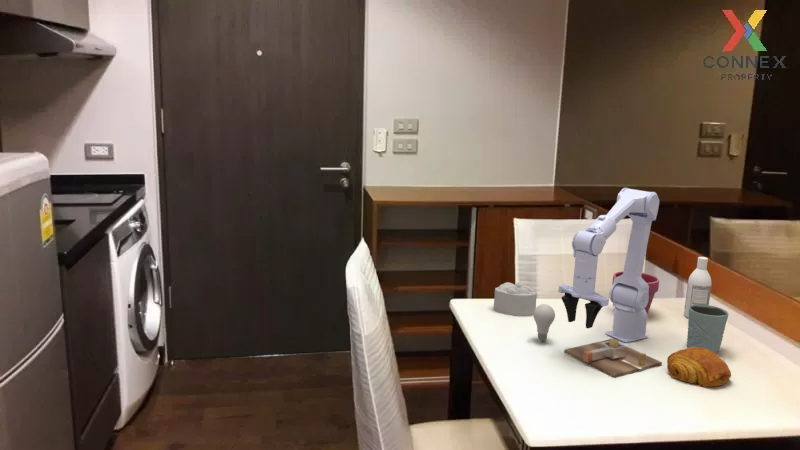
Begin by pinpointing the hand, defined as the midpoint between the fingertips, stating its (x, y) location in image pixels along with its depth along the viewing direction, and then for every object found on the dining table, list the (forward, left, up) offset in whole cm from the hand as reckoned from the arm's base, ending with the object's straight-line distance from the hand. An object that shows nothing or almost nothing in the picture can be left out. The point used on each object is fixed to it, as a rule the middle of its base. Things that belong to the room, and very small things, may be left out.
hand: (580, 324), depth 180 cm
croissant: (-20, +23, -10) cm, 32 cm away
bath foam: (-59, -7, -10) cm, 60 cm away
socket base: (-8, +5, -9) cm, 13 cm away
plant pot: (-42, -18, -10) cm, 47 cm away
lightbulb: (+1, -13, -10) cm, 16 cm away
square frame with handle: (-4, +5, -8) cm, 10 cm away
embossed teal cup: (-37, +12, -10) cm, 40 cm away
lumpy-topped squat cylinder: (-9, -37, -10) cm, 39 cm away
